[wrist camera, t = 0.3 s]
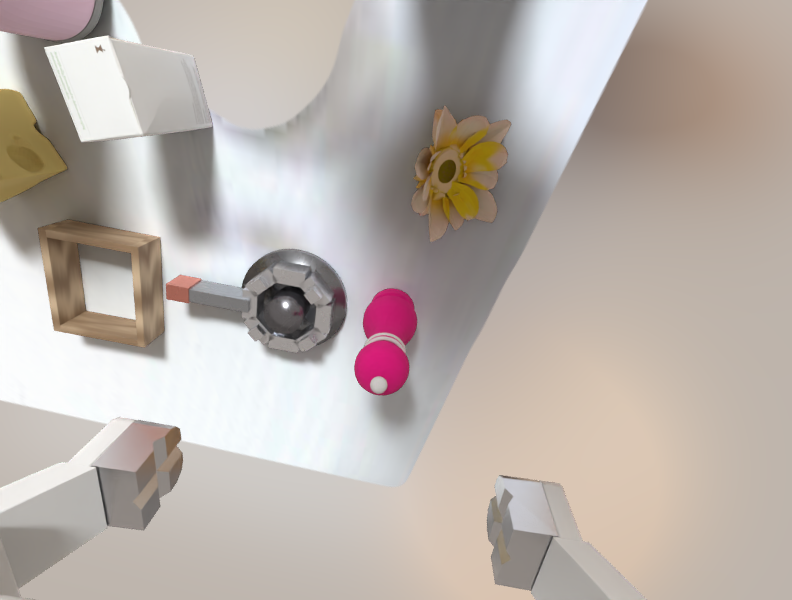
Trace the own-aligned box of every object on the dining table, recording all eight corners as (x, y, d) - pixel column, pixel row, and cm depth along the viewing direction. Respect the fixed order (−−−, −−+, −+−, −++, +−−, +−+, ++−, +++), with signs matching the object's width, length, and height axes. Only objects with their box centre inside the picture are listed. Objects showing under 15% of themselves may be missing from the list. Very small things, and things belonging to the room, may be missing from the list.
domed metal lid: (246, 239, 59) (227, 252, 54) (353, 260, 59) (346, 275, 54) (242, 334, 65) (225, 354, 60) (340, 353, 65) (332, 374, 60)
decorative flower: (483, 243, 57) (494, 268, 48) (401, 223, 57) (396, 244, 48) (522, 124, 51) (543, 126, 42) (430, 101, 51) (430, 98, 42)
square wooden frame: (67, 219, 60) (37, 228, 55) (160, 237, 60) (138, 247, 55) (80, 315, 66) (54, 330, 61) (164, 331, 66) (144, 347, 61)
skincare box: (145, 61, 51) (37, 40, 37) (198, 53, 51) (108, 29, 36) (168, 136, 55) (76, 144, 40) (217, 130, 54) (142, 135, 40)
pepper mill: (405, 338, 64) (396, 428, 45) (360, 319, 63) (332, 403, 45) (426, 297, 61) (425, 375, 43) (378, 276, 60) (357, 348, 42)
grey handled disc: (339, 271, 59) (333, 283, 55) (329, 347, 63) (323, 362, 60) (179, 241, 58) (161, 250, 55) (181, 319, 63) (165, 332, 59)
